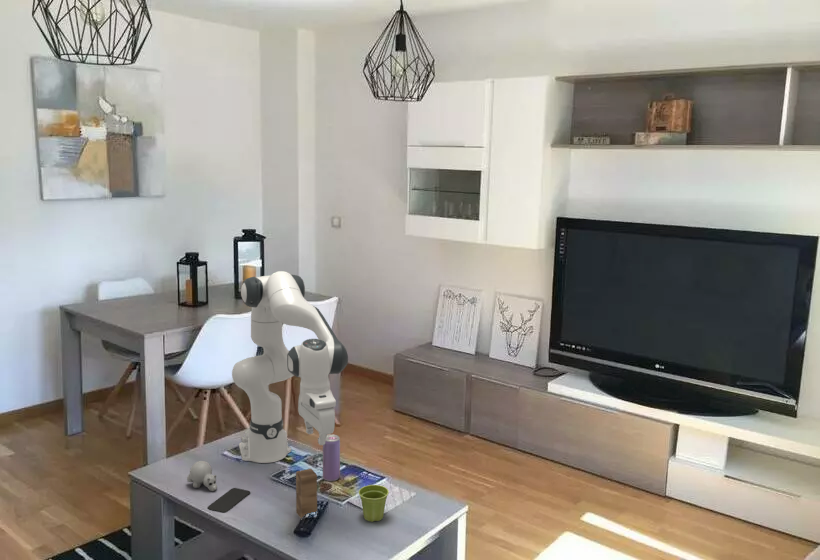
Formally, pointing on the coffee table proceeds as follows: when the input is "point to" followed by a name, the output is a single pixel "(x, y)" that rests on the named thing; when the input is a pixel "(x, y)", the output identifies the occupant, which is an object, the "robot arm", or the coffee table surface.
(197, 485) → the round bodied animal figurine
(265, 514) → the coffee table surface
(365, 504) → the plant pot
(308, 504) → the walnut block
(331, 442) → the beverage can
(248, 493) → the phone
